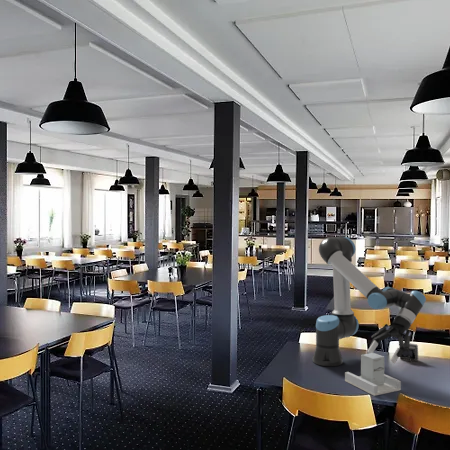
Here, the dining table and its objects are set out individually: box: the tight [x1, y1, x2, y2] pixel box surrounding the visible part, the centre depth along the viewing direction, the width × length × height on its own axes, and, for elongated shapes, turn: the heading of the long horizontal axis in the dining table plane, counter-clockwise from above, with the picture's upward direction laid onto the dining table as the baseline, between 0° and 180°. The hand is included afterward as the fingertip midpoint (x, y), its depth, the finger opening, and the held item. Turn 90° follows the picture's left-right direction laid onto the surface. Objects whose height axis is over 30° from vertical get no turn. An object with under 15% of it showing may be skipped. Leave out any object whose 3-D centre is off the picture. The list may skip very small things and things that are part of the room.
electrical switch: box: [398, 341, 419, 363], centre depth 241 cm, size 9×5×9 cm, turn 57°
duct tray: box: [344, 371, 402, 397], centre depth 206 cm, size 19×15×4 cm
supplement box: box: [360, 352, 385, 386], centre depth 205 cm, size 7×7×13 cm
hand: (380, 357), depth 206 cm, fingers open, 13 cm apart
